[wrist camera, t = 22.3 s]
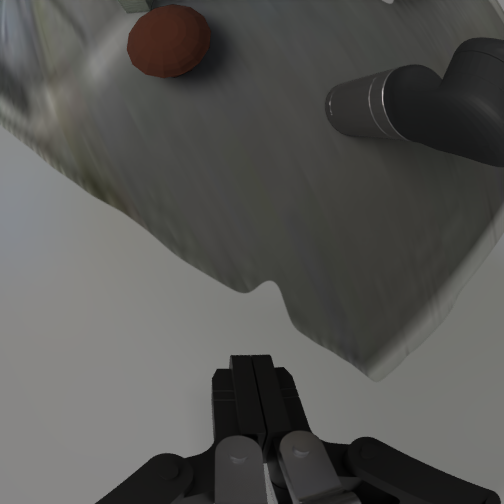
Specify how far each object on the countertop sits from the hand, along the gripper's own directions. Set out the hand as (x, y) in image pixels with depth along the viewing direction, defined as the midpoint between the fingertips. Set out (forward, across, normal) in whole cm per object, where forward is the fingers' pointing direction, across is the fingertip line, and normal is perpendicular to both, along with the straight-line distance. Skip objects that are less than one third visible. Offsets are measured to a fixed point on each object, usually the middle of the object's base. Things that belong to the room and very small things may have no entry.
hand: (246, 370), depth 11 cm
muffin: (+37, +9, -22) cm, 44 cm away
